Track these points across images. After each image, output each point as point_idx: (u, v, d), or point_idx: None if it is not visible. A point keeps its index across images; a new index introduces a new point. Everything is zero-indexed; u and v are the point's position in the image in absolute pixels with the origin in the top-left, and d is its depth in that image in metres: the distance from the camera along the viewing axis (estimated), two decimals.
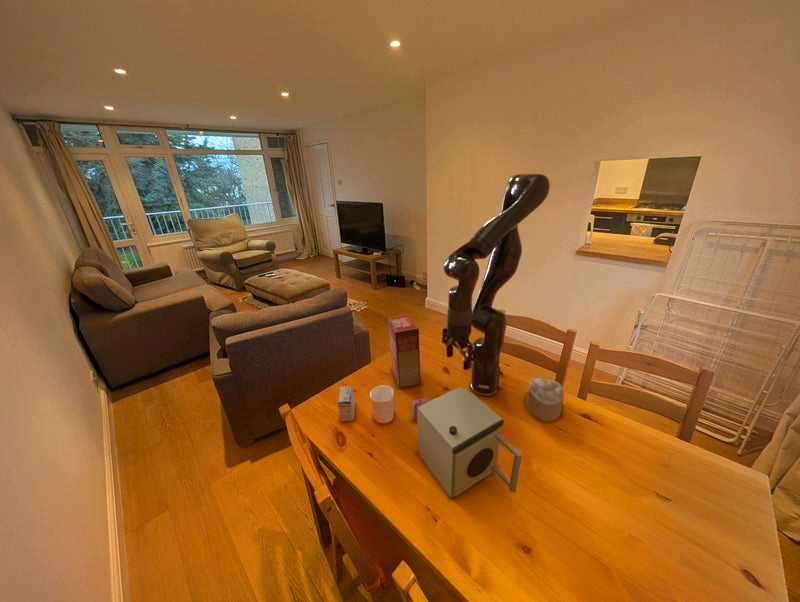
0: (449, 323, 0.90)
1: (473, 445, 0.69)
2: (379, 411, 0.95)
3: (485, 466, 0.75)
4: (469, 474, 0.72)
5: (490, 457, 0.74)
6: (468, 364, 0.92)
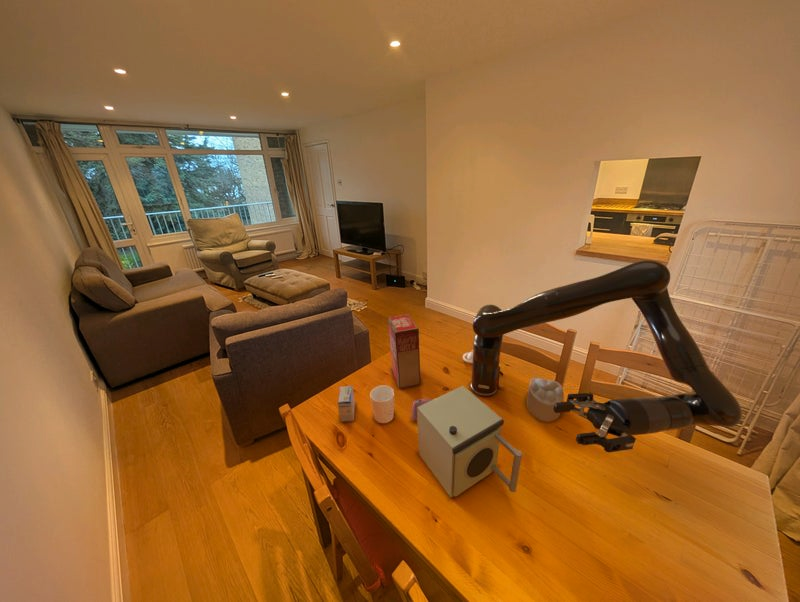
0: (638, 402, 0.64)
1: (473, 445, 0.69)
2: (379, 411, 0.95)
3: (485, 466, 0.75)
4: (469, 474, 0.72)
5: (490, 457, 0.74)
6: (592, 441, 0.59)
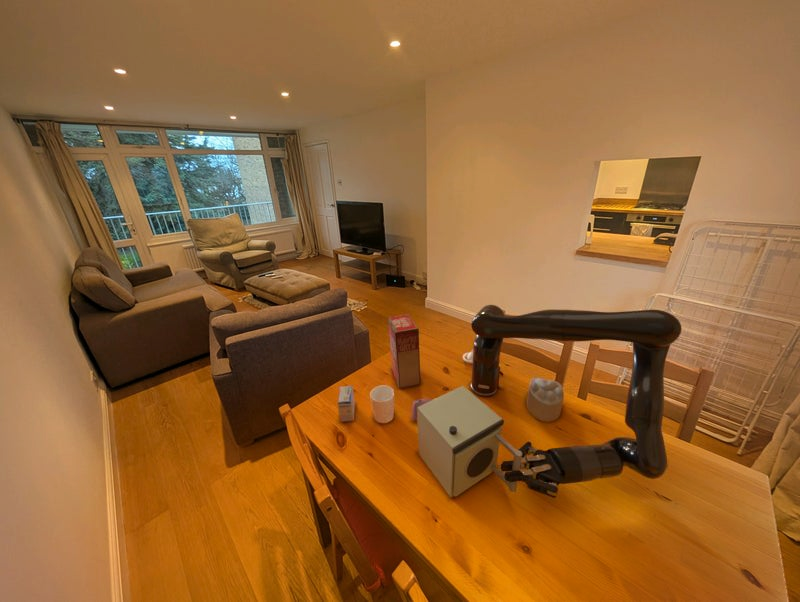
0: (574, 452, 0.69)
1: (473, 445, 0.69)
2: (379, 411, 0.95)
3: (485, 466, 0.75)
4: (469, 474, 0.72)
5: (490, 457, 0.74)
6: (517, 478, 0.67)
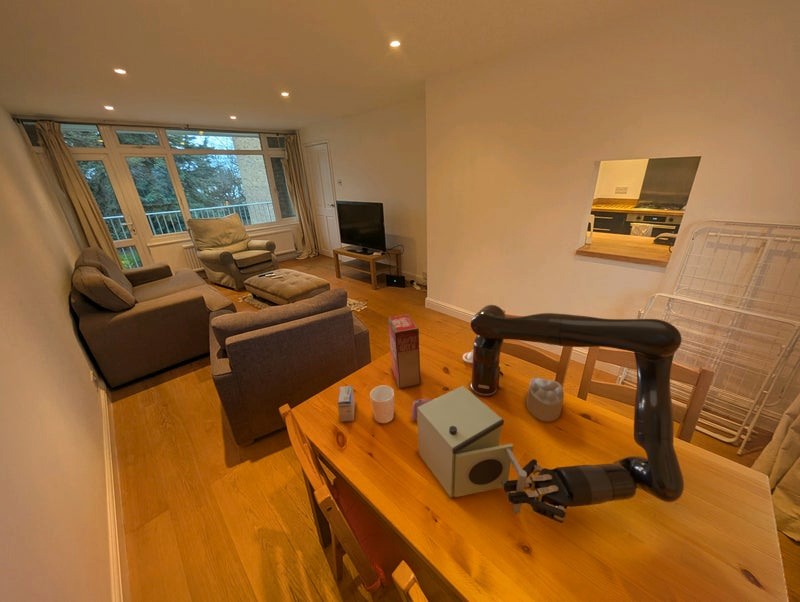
0: (583, 472, 0.64)
1: (477, 451, 0.68)
2: (379, 411, 0.95)
3: (492, 478, 0.72)
4: (471, 479, 0.71)
5: (498, 470, 0.71)
6: (522, 500, 0.63)
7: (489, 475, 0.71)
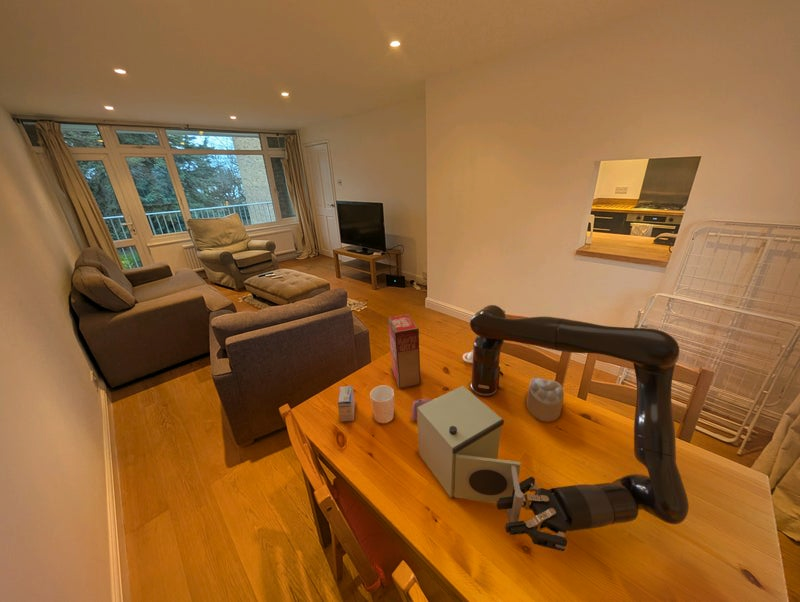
0: (582, 494, 0.60)
1: (479, 458, 0.66)
2: (379, 411, 0.95)
3: (495, 491, 0.69)
4: (471, 485, 0.69)
5: (502, 485, 0.68)
6: (520, 531, 0.58)
7: (491, 487, 0.68)
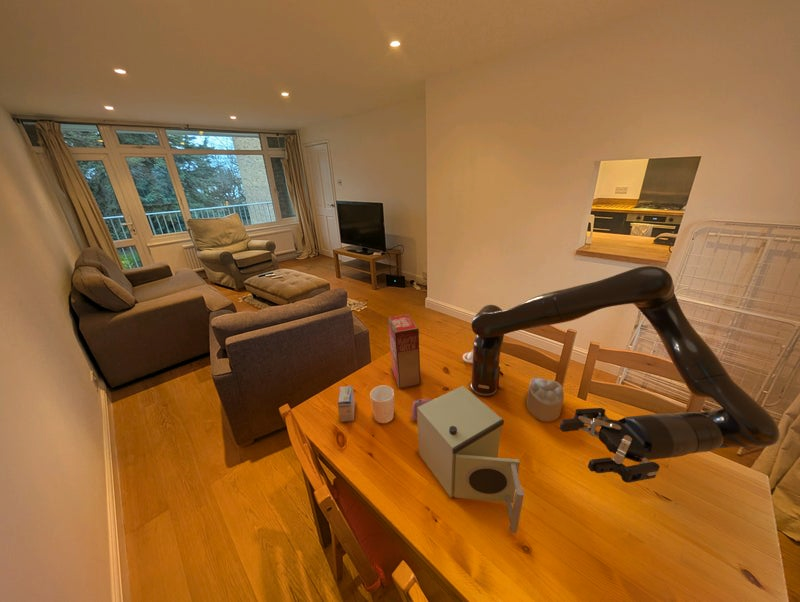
0: (659, 420, 0.54)
1: (479, 457, 0.66)
2: (379, 411, 0.95)
3: (495, 489, 0.69)
4: (471, 484, 0.70)
5: (502, 484, 0.68)
6: (608, 468, 0.50)
7: (491, 486, 0.69)
